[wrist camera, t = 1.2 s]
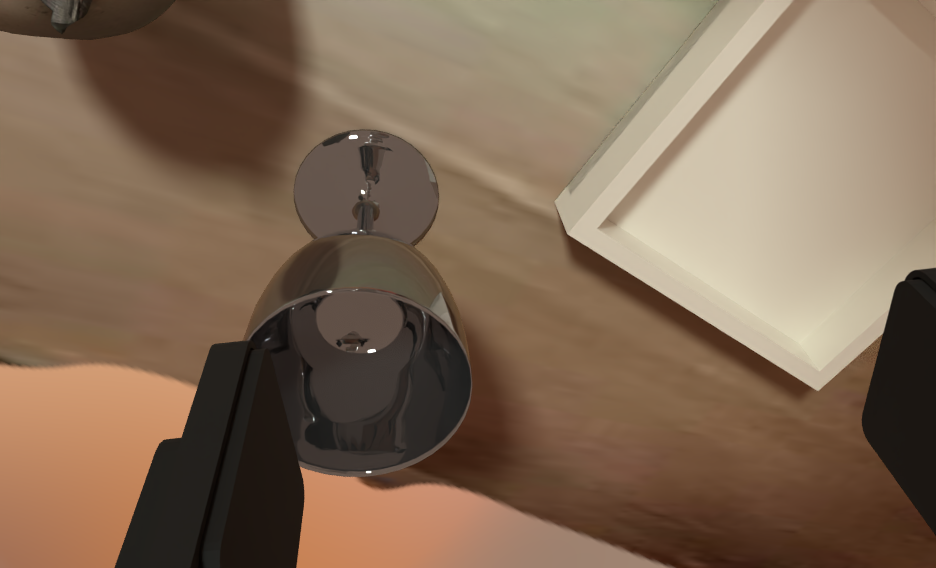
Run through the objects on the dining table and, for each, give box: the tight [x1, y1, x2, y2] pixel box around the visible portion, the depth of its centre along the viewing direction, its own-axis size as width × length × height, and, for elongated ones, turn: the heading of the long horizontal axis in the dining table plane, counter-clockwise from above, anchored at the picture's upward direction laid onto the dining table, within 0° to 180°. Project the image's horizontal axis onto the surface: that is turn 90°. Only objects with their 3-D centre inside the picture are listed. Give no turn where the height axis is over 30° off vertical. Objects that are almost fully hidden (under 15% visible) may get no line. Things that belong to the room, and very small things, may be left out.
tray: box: [555, 0, 936, 391], centre depth 39 cm, size 18×18×4 cm
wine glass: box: [243, 129, 472, 477], centre depth 33 cm, size 8×8×15 cm
